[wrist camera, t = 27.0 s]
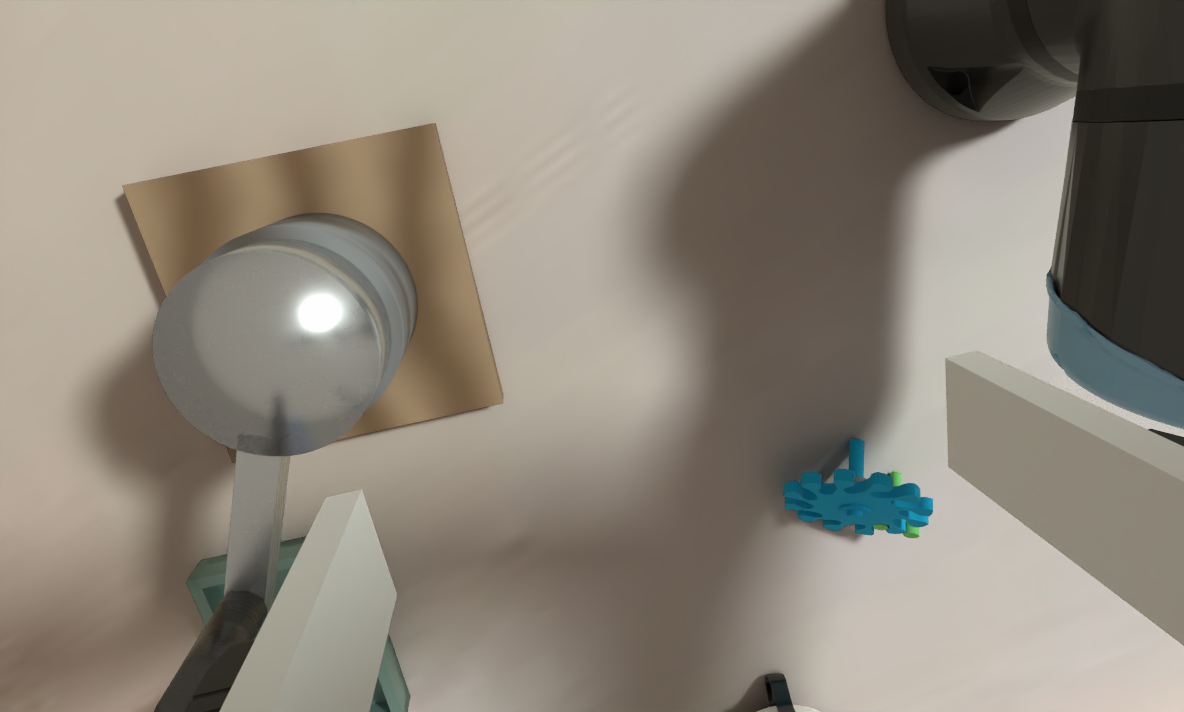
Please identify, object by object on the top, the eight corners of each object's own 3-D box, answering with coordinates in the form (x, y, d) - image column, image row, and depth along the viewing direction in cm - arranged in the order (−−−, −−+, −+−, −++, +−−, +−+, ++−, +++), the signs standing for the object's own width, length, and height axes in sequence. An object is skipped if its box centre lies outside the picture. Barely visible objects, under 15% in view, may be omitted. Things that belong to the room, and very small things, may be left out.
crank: (196, 219, 34) (60, 258, 24) (404, 260, 36) (362, 313, 25) (173, 577, 40) (54, 734, 29) (354, 597, 42) (302, 753, 31)
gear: (751, 503, 51) (868, 478, 43) (759, 430, 54) (870, 395, 46) (852, 553, 55) (975, 539, 48) (855, 484, 58) (970, 459, 50)
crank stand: (435, 123, 42) (418, 121, 34) (503, 395, 48) (502, 448, 40) (135, 183, 41) (45, 196, 33) (241, 452, 47) (186, 519, 39)
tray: (350, 526, 50) (343, 545, 47) (410, 696, 55) (405, 721, 52) (201, 560, 49) (185, 582, 47) (274, 728, 54) (264, 755, 52)
